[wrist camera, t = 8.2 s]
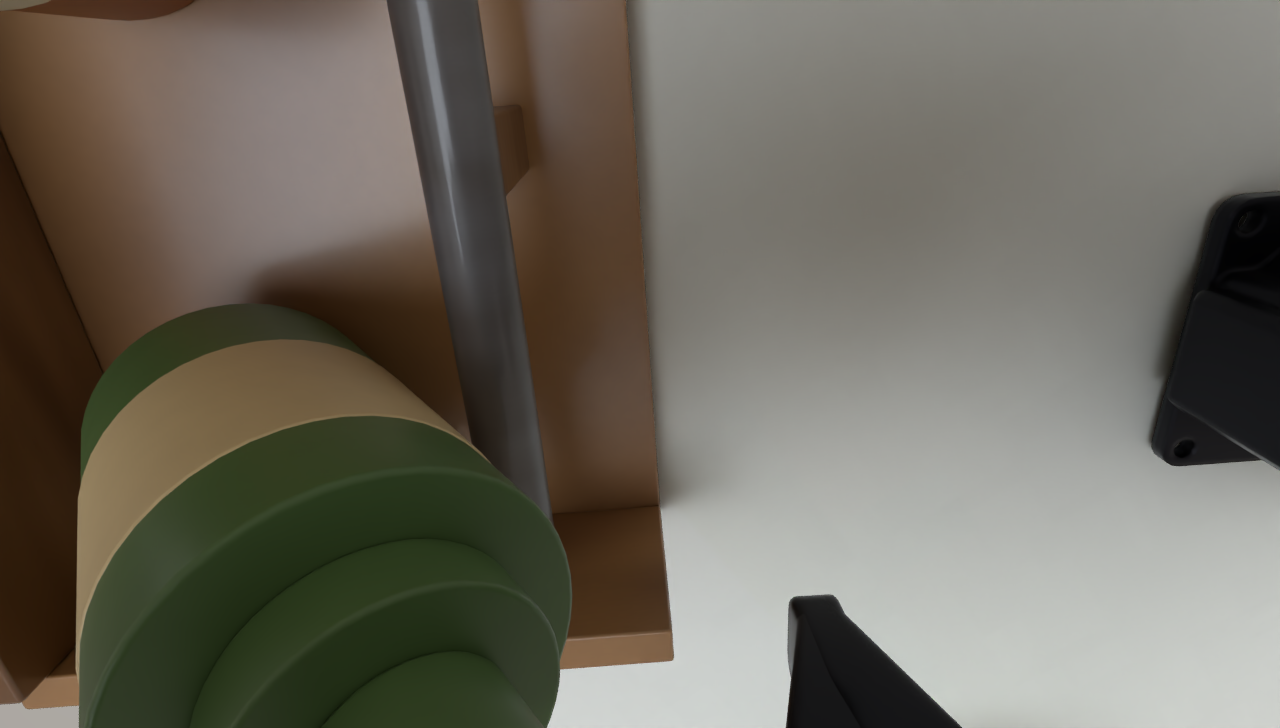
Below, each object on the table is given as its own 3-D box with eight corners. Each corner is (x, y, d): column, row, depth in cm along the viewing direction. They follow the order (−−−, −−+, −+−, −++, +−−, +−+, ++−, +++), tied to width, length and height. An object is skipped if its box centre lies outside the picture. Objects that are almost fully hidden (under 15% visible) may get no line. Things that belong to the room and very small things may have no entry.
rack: (587, -553, 10) (557, -1171, 5) (659, 512, 17) (676, 688, 13) (-270, -491, 10) (-1150, -1042, 5) (173, 548, 17) (-1, 739, 13)
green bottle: (662, 253, 14) (721, 982, 3) (674, 475, 16) (736, 1377, 5) (155, 286, 14) (-1497, 1040, 3) (234, 499, 16) (-602, 1384, 5)
